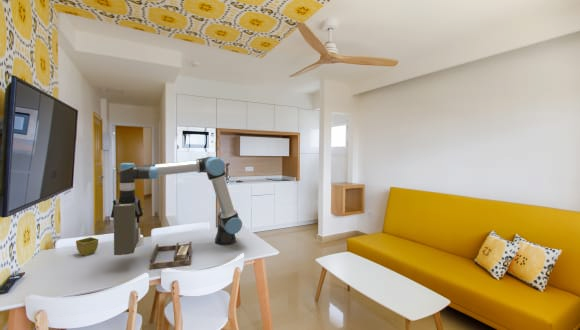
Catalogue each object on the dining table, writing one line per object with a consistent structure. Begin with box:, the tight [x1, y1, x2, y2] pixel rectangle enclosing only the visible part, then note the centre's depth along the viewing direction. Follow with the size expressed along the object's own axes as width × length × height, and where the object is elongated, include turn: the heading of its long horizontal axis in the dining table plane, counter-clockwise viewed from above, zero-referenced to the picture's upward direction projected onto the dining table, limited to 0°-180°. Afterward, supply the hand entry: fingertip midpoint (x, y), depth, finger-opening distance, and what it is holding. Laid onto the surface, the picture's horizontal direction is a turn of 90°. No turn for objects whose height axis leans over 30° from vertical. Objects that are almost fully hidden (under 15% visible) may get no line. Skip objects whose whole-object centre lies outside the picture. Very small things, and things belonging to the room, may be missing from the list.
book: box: [113, 196, 140, 256], centre depth 154 cm, size 22×9×28 cm, turn 23°
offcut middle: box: [176, 252, 189, 261], centre depth 165 cm, size 5×16×2 cm, turn 16°
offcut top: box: [176, 245, 189, 259], centre depth 165 cm, size 5×16×2 cm, turn 13°
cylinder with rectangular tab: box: [135, 227, 144, 248], centre depth 186 cm, size 9×9×12 cm
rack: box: [149, 241, 192, 270], centre depth 163 cm, size 21×28×6 cm
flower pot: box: [75, 236, 99, 256], centre depth 168 cm, size 9×9×9 cm
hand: (127, 228), depth 155 cm, fingers closed on book, 8 cm apart
